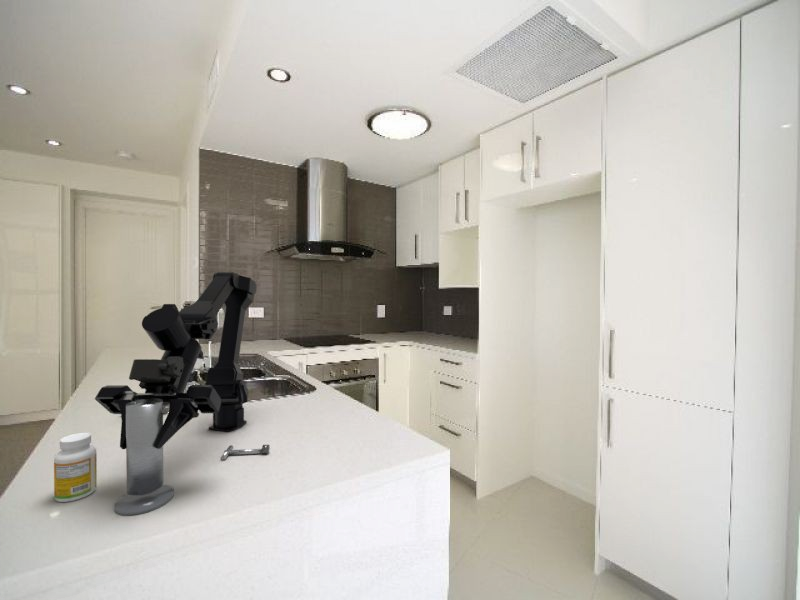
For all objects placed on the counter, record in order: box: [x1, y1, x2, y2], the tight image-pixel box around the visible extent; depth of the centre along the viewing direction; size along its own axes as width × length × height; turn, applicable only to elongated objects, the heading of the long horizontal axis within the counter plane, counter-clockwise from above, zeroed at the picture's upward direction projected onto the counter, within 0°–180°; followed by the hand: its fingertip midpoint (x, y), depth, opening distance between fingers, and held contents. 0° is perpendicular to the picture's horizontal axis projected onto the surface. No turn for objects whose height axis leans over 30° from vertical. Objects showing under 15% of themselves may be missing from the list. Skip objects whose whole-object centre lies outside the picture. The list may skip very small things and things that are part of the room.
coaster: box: [113, 484, 174, 516], centre depth 60 cm, size 8×8×1 cm
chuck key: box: [220, 444, 270, 461], centre depth 78 cm, size 9×5×2 cm, turn 98°
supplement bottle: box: [53, 432, 98, 503], centre depth 62 cm, size 5×5×10 cm
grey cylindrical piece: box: [125, 398, 165, 496], centre depth 60 cm, size 5×5×14 cm
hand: (139, 448), depth 59 cm, fingers closed on grey cylindrical piece, 5 cm apart
